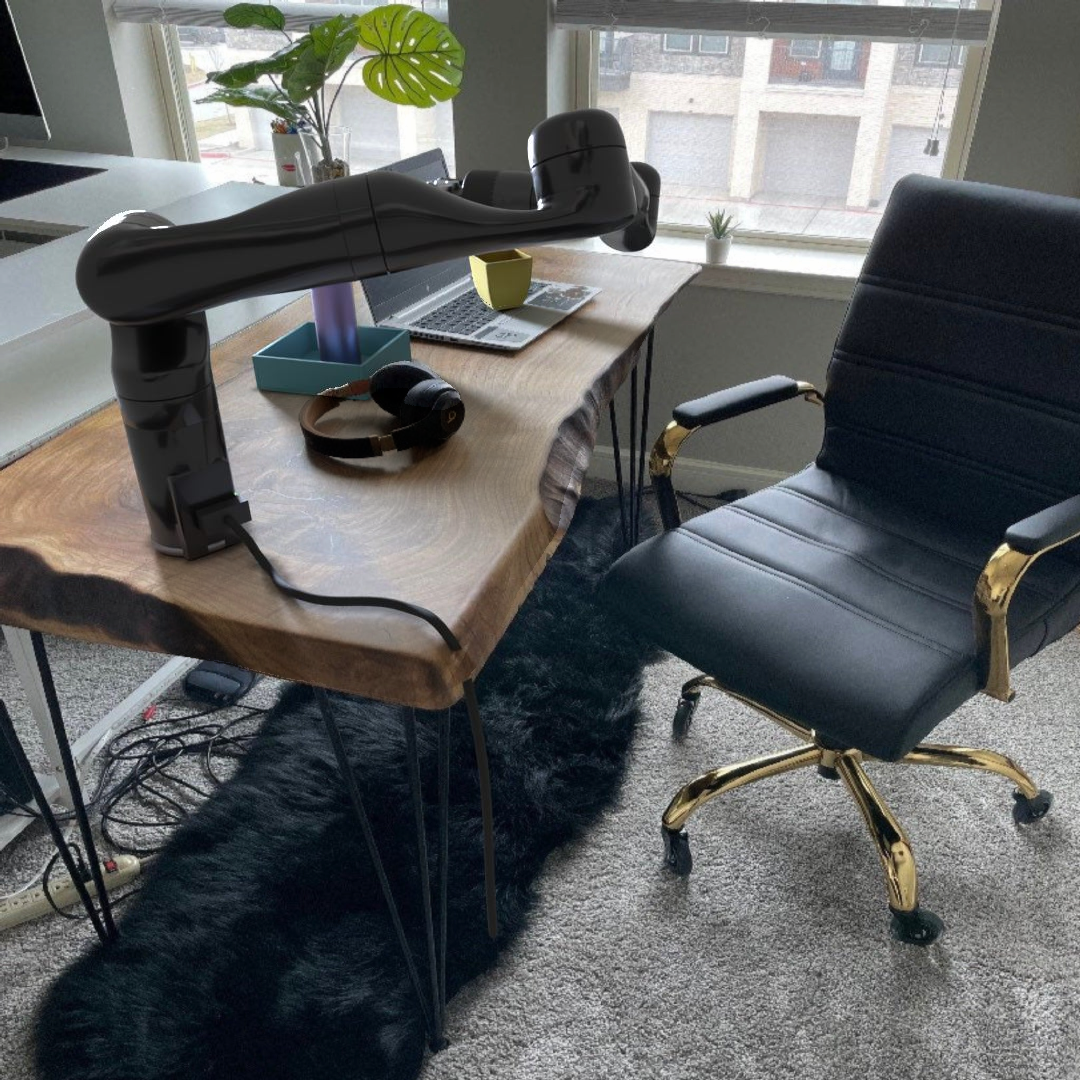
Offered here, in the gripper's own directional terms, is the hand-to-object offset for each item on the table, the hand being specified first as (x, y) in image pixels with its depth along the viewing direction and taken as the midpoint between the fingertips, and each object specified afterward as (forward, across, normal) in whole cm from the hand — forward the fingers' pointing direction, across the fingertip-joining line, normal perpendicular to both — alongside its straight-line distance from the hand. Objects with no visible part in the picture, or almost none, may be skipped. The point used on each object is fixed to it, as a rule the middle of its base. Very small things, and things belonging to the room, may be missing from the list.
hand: (388, 196), depth 131 cm
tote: (+11, 0, -26) cm, 28 cm away
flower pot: (-2, +38, -26) cm, 46 cm away
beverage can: (+11, +1, -26) cm, 28 cm away
